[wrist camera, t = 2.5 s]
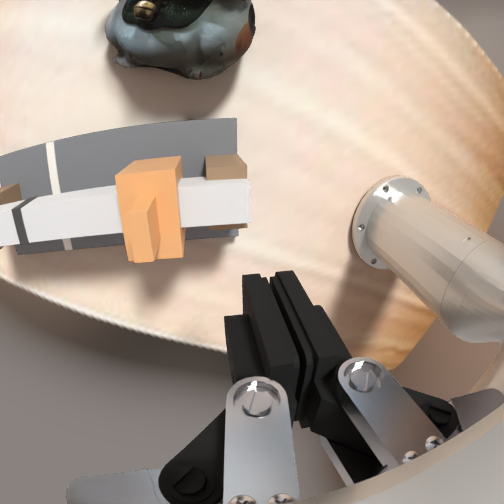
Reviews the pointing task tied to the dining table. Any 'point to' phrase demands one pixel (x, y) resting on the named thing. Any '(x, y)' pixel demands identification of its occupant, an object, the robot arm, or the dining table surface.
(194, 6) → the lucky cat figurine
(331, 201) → the dining table surface
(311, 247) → the dining table surface
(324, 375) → the robot arm
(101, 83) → the dining table surface
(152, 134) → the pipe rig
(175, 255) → the orange stepped block
